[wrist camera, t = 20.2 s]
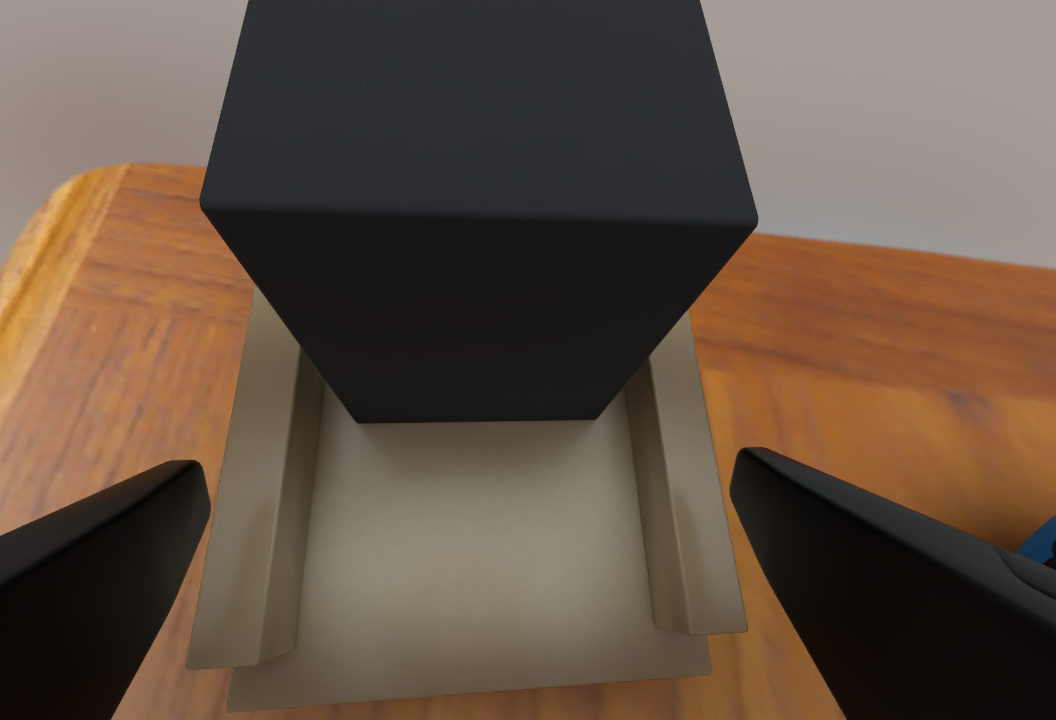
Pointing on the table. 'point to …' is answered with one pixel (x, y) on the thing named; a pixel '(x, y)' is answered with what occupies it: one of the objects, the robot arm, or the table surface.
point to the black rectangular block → (477, 194)
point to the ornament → (1041, 545)
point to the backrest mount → (460, 541)
